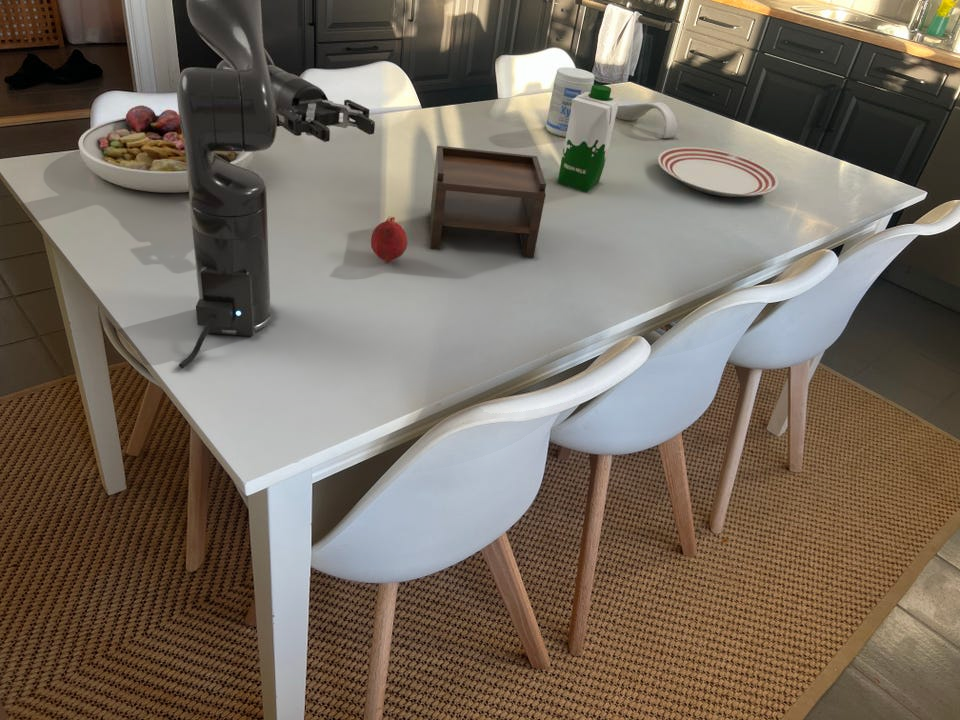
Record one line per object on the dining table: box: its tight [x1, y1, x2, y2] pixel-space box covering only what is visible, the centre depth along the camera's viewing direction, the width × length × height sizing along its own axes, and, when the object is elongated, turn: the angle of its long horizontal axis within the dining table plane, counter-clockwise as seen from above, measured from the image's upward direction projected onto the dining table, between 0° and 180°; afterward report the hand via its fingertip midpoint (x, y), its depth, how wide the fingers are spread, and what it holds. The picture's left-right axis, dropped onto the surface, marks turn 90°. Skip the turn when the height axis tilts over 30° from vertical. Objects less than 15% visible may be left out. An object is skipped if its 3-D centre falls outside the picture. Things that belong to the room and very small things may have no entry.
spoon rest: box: [612, 97, 678, 139], centre depth 203 cm, size 24×12×7 cm, turn 35°
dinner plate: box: [657, 146, 779, 198], centre depth 174 cm, size 27×27×3 cm
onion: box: [370, 215, 408, 263], centre depth 121 cm, size 6×6×8 cm
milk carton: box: [557, 84, 619, 193], centre depth 157 cm, size 9×9×20 cm
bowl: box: [78, 105, 254, 194], centre depth 141 cm, size 30×30×8 cm
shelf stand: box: [429, 145, 547, 259], centre depth 132 cm, size 14×18×13 cm
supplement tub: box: [545, 66, 595, 138], centre depth 187 cm, size 10×10×15 cm
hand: (350, 131), depth 119 cm, fingers open, 8 cm apart
